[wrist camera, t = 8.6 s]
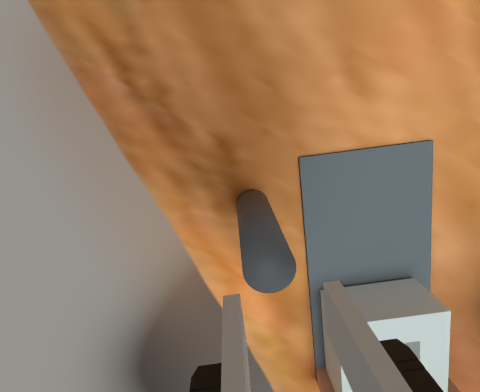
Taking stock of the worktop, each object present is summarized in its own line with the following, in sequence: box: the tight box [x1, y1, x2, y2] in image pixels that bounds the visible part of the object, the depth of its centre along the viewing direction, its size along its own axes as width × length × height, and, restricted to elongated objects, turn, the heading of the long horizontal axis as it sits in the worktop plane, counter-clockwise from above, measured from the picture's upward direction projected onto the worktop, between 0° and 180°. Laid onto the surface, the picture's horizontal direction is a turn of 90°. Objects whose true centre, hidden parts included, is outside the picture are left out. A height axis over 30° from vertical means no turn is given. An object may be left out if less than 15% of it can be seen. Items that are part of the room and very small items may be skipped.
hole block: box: [320, 278, 451, 392], centre depth 33 cm, size 10×10×6 cm
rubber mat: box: [299, 140, 433, 380], centre depth 35 cm, size 26×13×1 cm, turn 7°
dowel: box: [237, 190, 296, 293], centre depth 27 cm, size 3×3×14 cm
